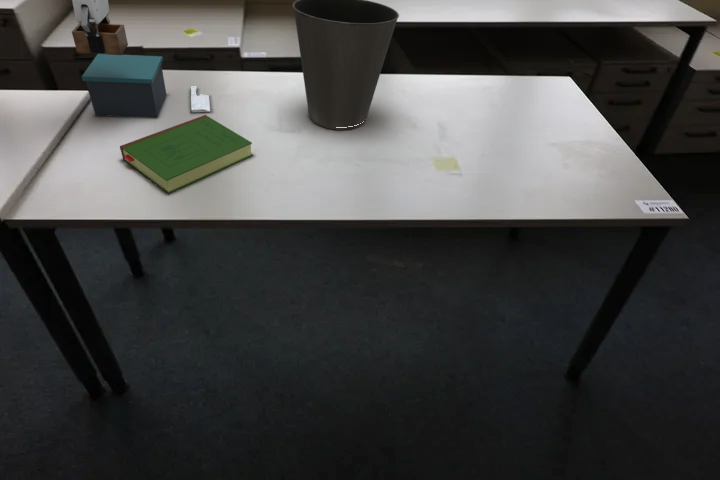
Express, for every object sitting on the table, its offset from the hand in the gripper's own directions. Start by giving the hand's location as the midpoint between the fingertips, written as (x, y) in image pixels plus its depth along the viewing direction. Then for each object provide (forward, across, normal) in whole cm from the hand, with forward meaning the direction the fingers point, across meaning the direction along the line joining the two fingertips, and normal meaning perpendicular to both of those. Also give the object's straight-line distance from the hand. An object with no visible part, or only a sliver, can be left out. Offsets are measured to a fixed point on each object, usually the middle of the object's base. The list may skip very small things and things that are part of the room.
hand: (102, 46), depth 125 cm
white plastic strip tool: (+20, -13, +19) cm, 30 cm away
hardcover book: (+20, +18, +20) cm, 34 cm away
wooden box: (+1, 0, 0) cm, 1 cm away
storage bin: (+20, -9, +1) cm, 21 cm away
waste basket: (+20, -6, +59) cm, 63 cm away
